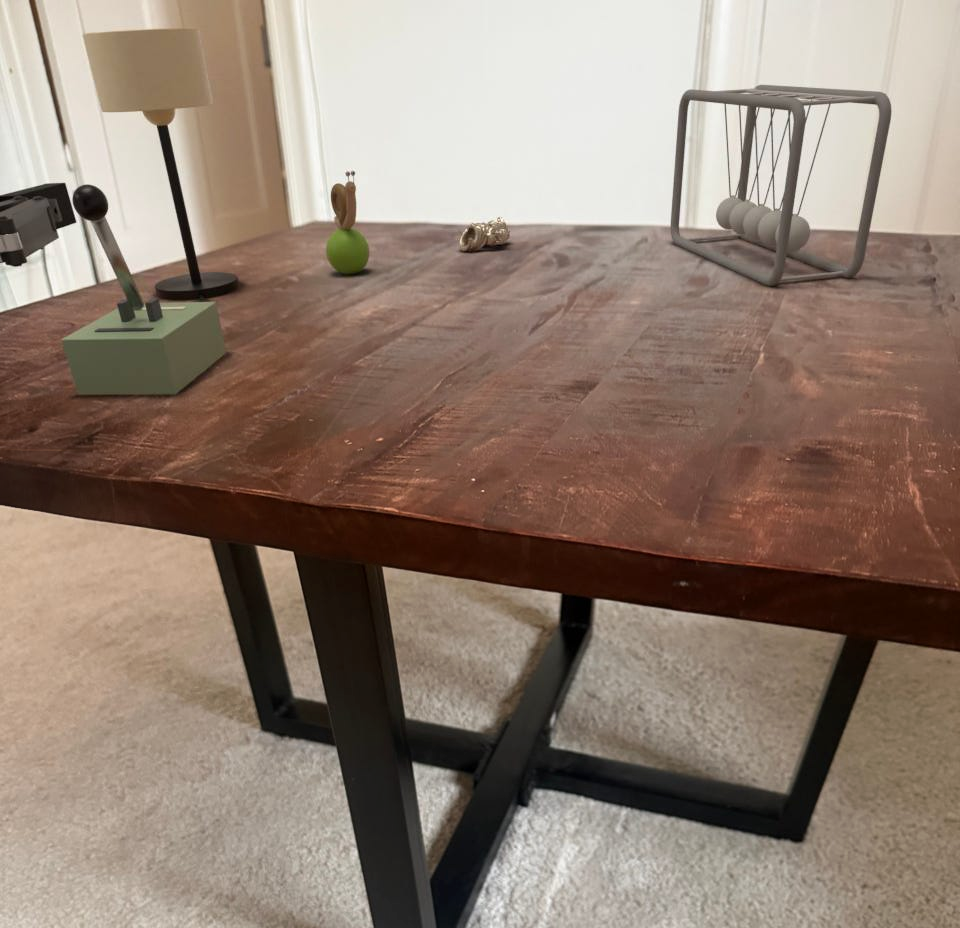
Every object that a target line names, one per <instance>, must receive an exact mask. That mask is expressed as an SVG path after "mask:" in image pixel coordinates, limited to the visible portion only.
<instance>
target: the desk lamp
mask: <svg viewBox="0 0 960 928" xmlns="http://www.w3.org/2000/svg"><path fill="white" fill-rule="evenodd" d="M200 31H201V30H200V28H199V27H168V28H145V29H144V28H143V29H142V28H141V29H126V30H125V29H124V30H109V31H108V30H107V31H97V32H85V33H82V39H83V43H84V47H85V50H86V54H87V59H88V62H89V66H90V70H91V74H92V79H93V82H94V86H95V89H96V90H95V91H96V94H97V99H98V103H99V106H100V110H101V113H135V112H142V114H143V116H144V118H145V119H146V121H148V122H149V123H150V124H152V125H153V126H156V129H157V134H158V138H159V143H160V147H161V151H162V152H161V153H162V156H163V160H164V165H165V169H166V174H167V178H168V182H169V188H170V193H171V197H172V201H173V205H174V209H175V214H176V218H177V224H178V227H179V232H180V238H181V241H182V246H183V251H184V255H185V259H186V263H187V268H188V272H189V273H187V274H181V275H175V276H172V277H169V278H168V277H167V278H165V279H162V280H159V281H158V282H156V283H155V284H154V289H155V294H156V298H158V299H161V300H165V301H166V300H167V301H197V300H198V302H207V300H206V299H210V298H216V297H221V296H224V295H229V294H231V293H233V292H235V291H237V290H238V289H240V282H239V281H240V280H239V276H238V275H236V274H234V273H231V272H225V271H224V272H223V271H210V272H209V271H207V272H206V271H205V272H201V271H200V267H199V263H198V258H197V254H196V253H197V252H196V250H195V249H196V248H195V244H194V239H193V236H192V231H191V230H192V229H191V225H190V222H189V221H190V220H189V216H188V211H187V208H186V203H185V199H184V194H183V189H182V185H181V180H180V176H179V170H178V167H177V166H178V165H177V161H176V157H175V151H174V147H173V142H172V139H171V138H172V137H171V134H170V129H169V125H170V124H171V123H172V122H173V121H174V118H175V116H176V110H177V109H179V110H180V109H188V108H198V107H199V108H200V107H206V106H211V105H213V104H214V101H213V95H212V89H211V85H210V79H209V73H208V68H207V63H206V60H205V59H206V58H205V54H204V53H205V52H204V47H203V42H202V36H201V32H200Z"/></svg>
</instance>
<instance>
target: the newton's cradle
mask: <svg viewBox="0 0 960 928" xmlns="http://www.w3.org/2000/svg"><path fill="white" fill-rule="evenodd" d="M691 101H695V102H704V103H713V104H722V105H724V120H725V121H724V122H725V136H726V157H727V172H728V173H727V174H728V191H729V197H726V198H724V199H723V200H722V201H721V202H720V203H719V204H718V206H717V208H716V212H715V218H716V222H717V224H718V225H719V226H720V228H723V229H724V230H728V231H730V230H732V231H733V232H734V233H731V234H720V235H710V236H699V237H687V238H685V237H683V236H681V233H680V217H681V216H680V215H681V206H682V205H681V204H682V203H681V202H682V191H683V177H684V165H685V164H684V163H685V152H686V140H687V139H686V137H687V125H688V112H689V111H688V110H689V105H690V102H691ZM849 103H851V104H862V105H875V106H877V108H878V121H877V127H876V132H875V137H874V143H873V149H872V154H871V158H870V159H871V160H870V164H869V170H868V176H867V180H866V186H865V192H864V198H863V202H862V208H861V213H860V220H859V223H858V224H859V225H858V229H857V236H856V241H855V245H854V246H855V248H854V252H853V257H852V262H851V264H850V265H849V266H847V265H843V264H840V263H838V262H835V261H832V260H829V259H827V258H824V257H821V256H818V255H815V254H812V253H810V252H807V251H804V250H802V249H803V248H804V247H805V246H806V244H807V243H808V242H809V239H810V236H811V226H810V223H809V222H808V220H806V219H805V217H803V216H801V215H800V212H801V210H802V209H801V208H802V205H803V201H804V198H805V194H806V191H807V188H808V184H809V181H810V177H811V174H812V170H813V168H814V164H815V160H816V156H817V153H818V150H819V145H820V142H821V138H822V136H823V132H824V129H825V126H826V122H827V118H828V114H829V111H830V108H831V105H833V104H834V105H835V104H849ZM727 105H732V106H733V105H734V106H738V115H739V135H740V136H739V137H740V139H739V140H740V159H741V160H740V161H741V162H740V170H739V171H740V172H739V179H738V183H737V187H736V191H735V195H732V193H731V192H732V190H731V172H730V153H729V135H728V134H729V133H728V119H727V117H728V116H727ZM818 105H828V107H827V110H826V113H825V117H824V120H823V123H822V127H821V131H820V135H819V137H818V142H817V144H816V148H815V151H814V155H813V159H812V161H811V166H810V169H809V173H808V176H807V180H806V183H805V186H804V189H803V194H802V197H801V200H800V204H799V207H798V210H797V213H794V206H795V197H796V193H797V187H798V179H799V172H800V171H799V170H800V165H801V163H800V162H801V158H802V151H803V143H804V137H805V131H806V130H805V129H806V124H807V120H808V117H809V113H810V109H811V108H812V107H811V106H818ZM741 106H744V107H747V108H746V115H745V116H746V117H745V126H744V135H742V114H741V113H742V112H741ZM806 106H808V110H807V112H806V109H805V107H806ZM760 108H761V109H770V121H769V125H768V129H767V132H766V135H765V139H764V144H763V146H762V149H761V150H762V151H761V154H760V157H758V133H757V132H758V131H757V119H758V115H759V112H760ZM776 110H780V111H787V120H786V123H785V127H784V131H783V134H782V139H781V141H780V145H779V148H778V152H777V156H776V159H775V161H774V129H773V127H774V126H773V118H774V114H775V112H776ZM791 113H792V118H793V126H792V133H791ZM677 114H678V115H677V116H678V117H677V127H676V128H677V129H676V142H675V157H674V170H673V183H672V184H673V185H672V198H671V212H670V213H671V214H670V227H669V228H670V236H671V240H672V242H673V244H675V245H676V246H678V247H680V248H682V249H685V250H686V251H689V252H692V253H694V254H696V255H698V256H700V257H703V258H704V259H707V260H709V261H711V262H713V263H716V264H718V265H720V266H722V267H724V268H727V269H728V270H731V271H734V272H735V273H737V274H740V275H741V276H744V277H747V278H749V279H751V280H753V281H755V282H758V283H760V284H762V285H764V286H767V287H774V286H776V285H778V283H779V282H789V281H798V280H799V281H800V280H808V279H818V278H826V277H827V278H828V277H836V276H837V277H838V276H839V277H842V278H845V279H852V278H853V277H855V276H857V274H858V273H859V272H860V271H861V268H862V267H863V264H864V261H865V256H866V251H867V246H868V241H869V235H870V230H871V224H872V219H873V214H874V209H875V204H876V200H877V199H876V198H877V193H878V189H879V184H880V177H881V174H882V173H881V172H882V168H883V163H884V156H885V152H886V146H887V141H888V136H889V131H890V125H891V121H892V104H891V99H890V98H889V96H888V95H887V94H886V92H885V93H884V92H882V91H875V90H859V89H858V90H857V89H842V88H841V89H840V88H827V87H826V88H825V87H809V86H808V87H807V86H806V87H805V86H792V85H775V84H758V85H756V86H755V87H754V88H742V89H741V88H740V89H727V90H705V89H704V90H701V89H693V88H690V89H687V90H685V92H684V93H683V94H682V95H681V97H680V101H679V106H678V113H677ZM787 128H788V147H789V148H788V149H789V154H788V162H787V169H786V176H785V184H784V191H783V195H782V198H781V201H780V205H779V207H777V208H776V204H775V203H776V202H775V201H776V199H775V197H776V196H775V170H776V168H777V164H778V160H779V156H780V153H781V149H782V146H783V143H784V138H785V135H786V132H787ZM769 133H770V134H771V137H770V138H771V141H770V142H771V168H772V169H771V171H772V174H771V176H770V177H771V178H770V180H769V184H768V187H767V191H766V195H765V198H764V202H763V203H760V188H759V187H760V185H759V184H760V183H759V169H760V165H761V163H762V158H763V155H764V150H765V147H766V144H767V141H768V136H769ZM754 134H755V135H754ZM754 137H755V138H754ZM754 139H755V164H756V172H755V176H754V180H753V183H752V188H751V191H750V194H749V198H748V199H747V193H748V184H749V175H750V167H751V160H752V159H751V158H752V150H753V140H754ZM758 158H759V159H758ZM755 184H756V188H757V189H756V190H757V193H756V194H757V204H756V203H754V202H752V201H751V198H752V195H753V192H754V188H755ZM771 185H772V205H773V206H772V208H773V210H772V209H771V208H770V207H768V206H766V202H767V199H768V196H769V192H770V188H771ZM799 215H800V216H799ZM729 238H740V239H741V240H744V241H747V242H749V243H752V244H754V245H757V246H760V247H763V248H765V249H768V250H770V251H773V252H775V256H774V265H773V269H772V272H771V274H769V273H767V272H764V271H762V270H760V269H757V268H755V267H752V266H751V265H748V264H746V263H743V262H742V261H739V260H736V259H734V258H732V257H729V256H728V255H725V254H722V253H720V252H718V251H715V250H714V249H710V248H709V247H706V246H703V245H702V244H699V243H697V242H698V241H708V240H719V239H729ZM787 257H789V258H792V259H794V260H797V261H799V262H801V263H805V264H807V265H810V266H812V267H814V268H818V269H821V270H823V271H825V272H823V273H812V274H811V273H810V274H803V275H802V274H801V275H792V276H783V275H784V273H785V268H786V262H787Z"/></svg>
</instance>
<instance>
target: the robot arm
mask: <svg viewBox="0 0 960 928" xmlns="http://www.w3.org/2000/svg"><path fill="white" fill-rule="evenodd" d="M71 201H72V200H71V197H70V195H69V191H68V188H67V184H66V182H50V183H49V182H47V183H43V184H38V185H36V186H32V187H28V188H24V189H20V190H15V191H12V192H11V191H10V192H7V193H4V194H0V264H5V265H6V266H10V267H13V268H14V267H15V268H16V267H21V266H23V264H27V263H28V259H27V258H28V257H29V256H31V255H33V254H34V253H37V252H38V251H39V250H44V248H45V247H46V246H48V245H50V244H51V243H53V242H55V241H56V240H58V239H59V233H58V230H59V229H63V228H65V227H68V226H70V225H74V224H77V219H76V215H75V211H74V207H73V204H72V202H71Z"/></svg>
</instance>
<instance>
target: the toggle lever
mask: <svg viewBox="0 0 960 928" xmlns="http://www.w3.org/2000/svg"><path fill="white" fill-rule="evenodd" d="M71 198H72V199H71V201H72V207H73V209H74V210H75V212H76V213H77V214H78V216H80V217H81V218H83V219H84V220H86V221H88V222H89V221H90V223H91V226H92V228H93V230H94V232H95V234H96V236H97V238H98V241H99V244H100V245H101V248H102V249H103V251H104V253H105V255H106V258H107V260H108V262H109V264H110V267H111V268H112V270H113V272H114V276H116V279H117V282H118V284H119V285H120V287H121V290H122V292H123V294H124V296H125V299H127V301H128V303H129V305H130V307H131V308H132V309H133V310H136V311H139V310H141V309H142V308H143V306H144V303H145V301H144V299H143V298H142V295H141V293H140V291H139V288H138V287H137V283H136V282H135V279H134V278H133V275H132V273H131V271H130V269H129V267H128V264H127V262H126V260H125V257H124V255H123V253H122V251H121V249H120V247H119V244H118V242H117V240H116V237H115V236H114V232H113V230H112V228H111V227H110V224H109V222H108V220H107V217H106V216H107V214H108V212H109V202H108V198H107V196H106V194H105V193H104V192H103V190H102V189H100V188H99V187H97V186H96V185H92V184H88V183H87V184H82V185H81V184H80V185H79V186H78V187H77V188H75V190H74V192H73V193H72V197H71Z"/></svg>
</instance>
